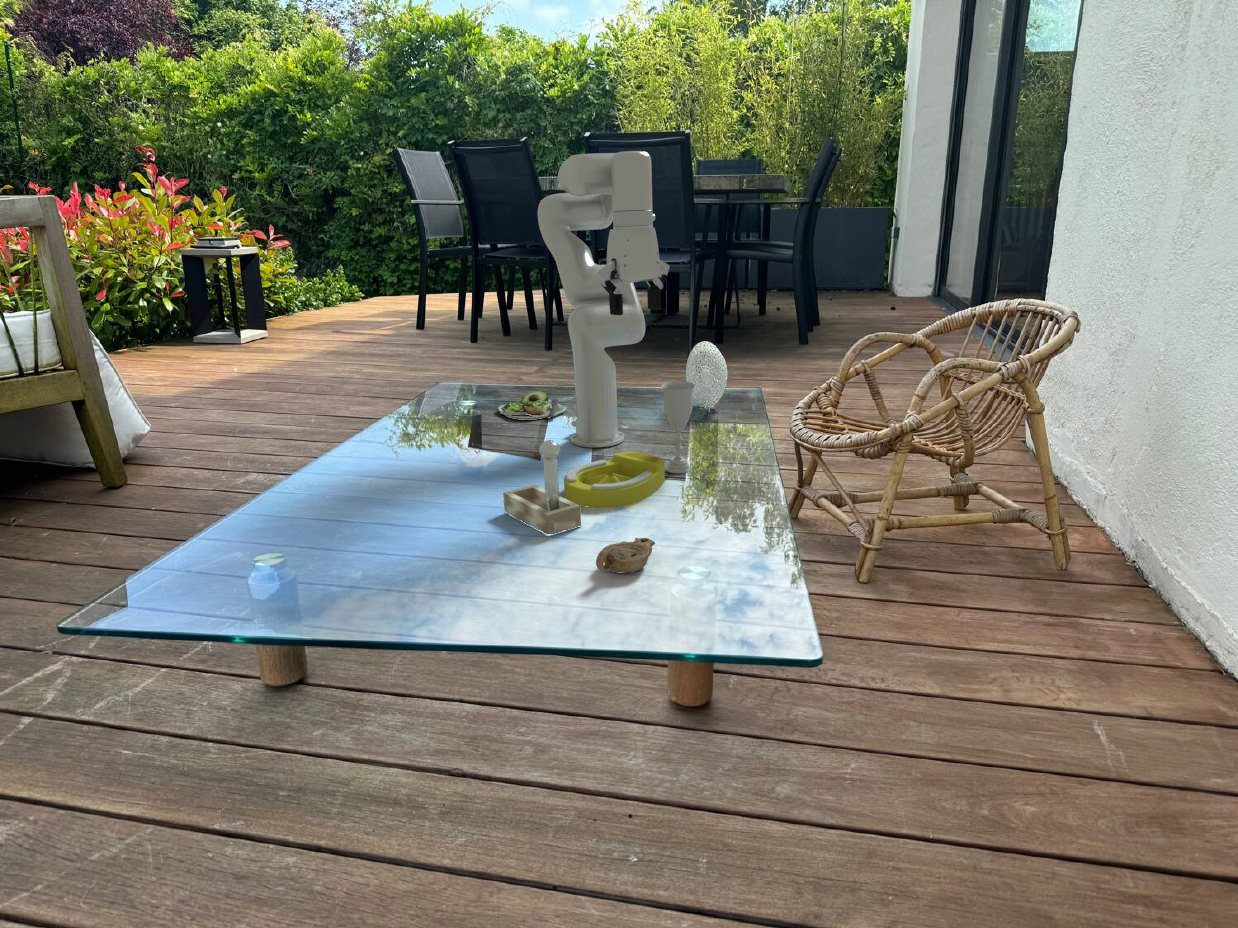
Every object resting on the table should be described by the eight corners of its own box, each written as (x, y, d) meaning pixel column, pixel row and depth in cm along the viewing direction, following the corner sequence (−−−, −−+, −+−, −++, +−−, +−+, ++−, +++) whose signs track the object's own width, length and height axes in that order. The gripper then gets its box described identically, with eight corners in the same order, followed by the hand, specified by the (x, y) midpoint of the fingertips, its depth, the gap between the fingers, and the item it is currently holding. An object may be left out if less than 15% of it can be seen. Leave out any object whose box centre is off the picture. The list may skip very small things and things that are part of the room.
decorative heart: (683, 400, 235) (683, 339, 229) (722, 399, 235) (722, 337, 229) (689, 417, 218) (688, 351, 212) (730, 416, 218) (731, 350, 212)
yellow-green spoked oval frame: (679, 486, 169) (679, 462, 168) (608, 516, 155) (607, 490, 153) (619, 470, 180) (618, 447, 178) (547, 496, 166) (545, 472, 164)
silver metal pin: (540, 525, 150) (534, 440, 146) (557, 520, 153) (552, 436, 148) (551, 531, 148) (545, 444, 143) (568, 526, 150) (563, 440, 145)
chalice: (692, 475, 174) (692, 389, 168) (660, 474, 175) (658, 389, 170) (696, 464, 181) (696, 381, 175) (665, 463, 182) (664, 381, 177)
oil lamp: (633, 549, 140) (632, 521, 138) (669, 560, 135) (669, 531, 134) (579, 577, 130) (578, 547, 129) (617, 590, 126) (616, 559, 124)
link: (504, 513, 157) (503, 492, 156) (536, 504, 161) (534, 484, 160) (548, 536, 146) (547, 515, 144) (581, 526, 149) (580, 505, 148)
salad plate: (582, 417, 222) (581, 400, 221) (518, 428, 214) (517, 410, 213) (552, 402, 238) (551, 386, 237) (492, 412, 231) (490, 395, 229)
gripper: (653, 219, 168) (655, 306, 173) (584, 223, 158) (588, 315, 163) (679, 219, 163) (681, 309, 168) (609, 222, 152) (613, 318, 157)
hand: (635, 312), depth 165 cm, fingers open, 9 cm apart
